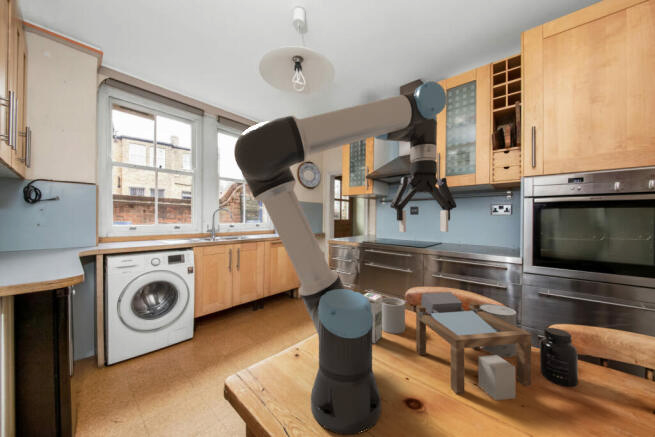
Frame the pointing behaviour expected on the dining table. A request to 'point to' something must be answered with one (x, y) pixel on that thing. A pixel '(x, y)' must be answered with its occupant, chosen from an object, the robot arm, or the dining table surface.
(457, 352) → the hatch frame
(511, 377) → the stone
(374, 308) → the syrup box
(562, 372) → the supplement bottle
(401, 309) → the mug
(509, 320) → the short grey cylinder
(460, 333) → the trapdoor
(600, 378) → the dining table surface
